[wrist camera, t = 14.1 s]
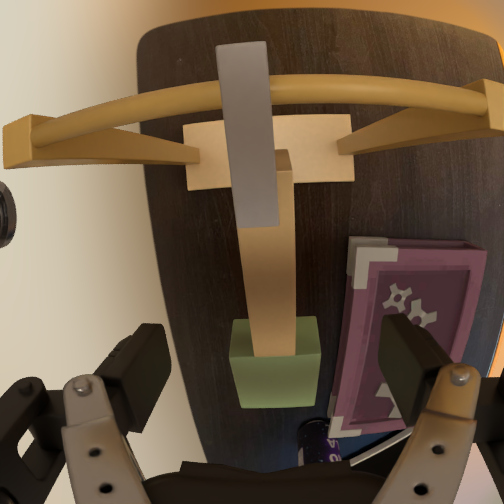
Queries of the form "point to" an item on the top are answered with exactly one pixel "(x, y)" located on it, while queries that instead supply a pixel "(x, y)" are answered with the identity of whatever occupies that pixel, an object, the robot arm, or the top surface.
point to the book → (393, 302)
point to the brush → (264, 242)
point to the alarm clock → (382, 455)
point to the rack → (285, 127)
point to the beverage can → (317, 444)
